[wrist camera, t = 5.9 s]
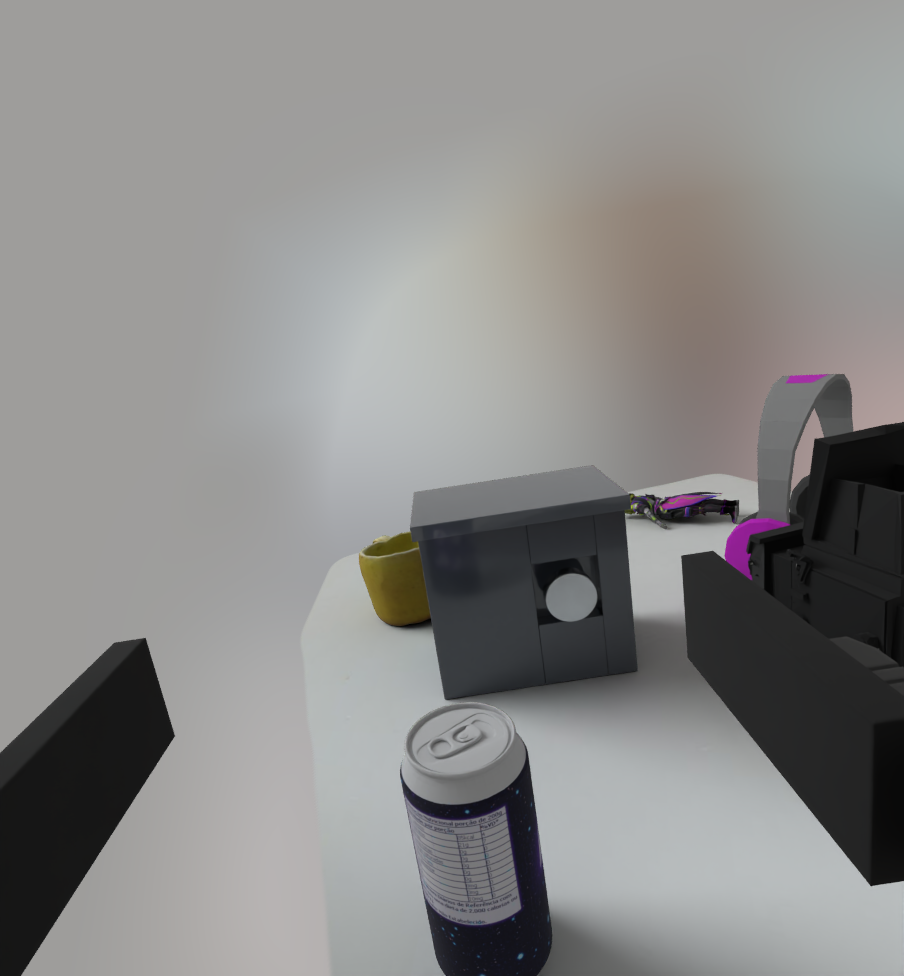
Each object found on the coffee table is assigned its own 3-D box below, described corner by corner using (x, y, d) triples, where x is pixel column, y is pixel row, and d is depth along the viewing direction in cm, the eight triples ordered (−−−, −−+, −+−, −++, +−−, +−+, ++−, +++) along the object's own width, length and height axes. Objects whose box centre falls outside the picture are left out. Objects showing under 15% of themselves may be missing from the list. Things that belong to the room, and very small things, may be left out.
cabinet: (439, 703, 50) (409, 527, 46) (438, 639, 60) (413, 492, 57) (644, 672, 50) (630, 494, 46) (607, 614, 60) (593, 464, 57)
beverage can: (579, 963, 28) (551, 740, 25) (474, 1040, 26) (430, 804, 23) (511, 877, 33) (481, 682, 30) (417, 935, 31) (375, 729, 28)
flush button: (548, 625, 47) (543, 577, 46) (545, 617, 49) (539, 571, 48) (599, 618, 47) (595, 570, 46) (595, 610, 49) (590, 563, 48)
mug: (483, 598, 64) (436, 515, 62) (397, 652, 62) (347, 567, 61) (457, 579, 75) (417, 509, 74) (384, 623, 74) (342, 553, 72)
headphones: (818, 621, 54) (818, 392, 49) (719, 598, 60) (710, 395, 55) (888, 543, 66) (894, 356, 62) (800, 531, 73) (799, 362, 68)
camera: (824, 655, 49) (825, 403, 44) (1014, 764, 36) (1045, 423, 31) (714, 688, 47) (701, 428, 42) (872, 815, 34) (881, 461, 29)
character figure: (740, 511, 84) (622, 505, 92) (741, 484, 83) (621, 481, 91) (734, 534, 76) (606, 526, 84) (734, 506, 75) (604, 500, 83)
